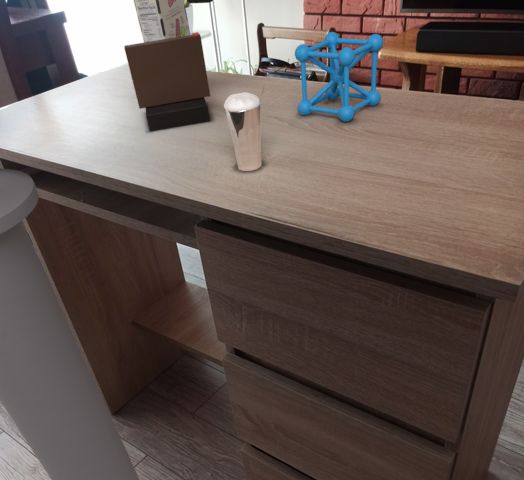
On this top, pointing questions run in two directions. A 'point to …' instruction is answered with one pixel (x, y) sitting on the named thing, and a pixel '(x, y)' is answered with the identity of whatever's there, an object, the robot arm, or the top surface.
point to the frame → (168, 70)
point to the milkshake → (245, 129)
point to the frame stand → (177, 114)
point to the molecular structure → (339, 74)
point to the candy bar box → (162, 19)
